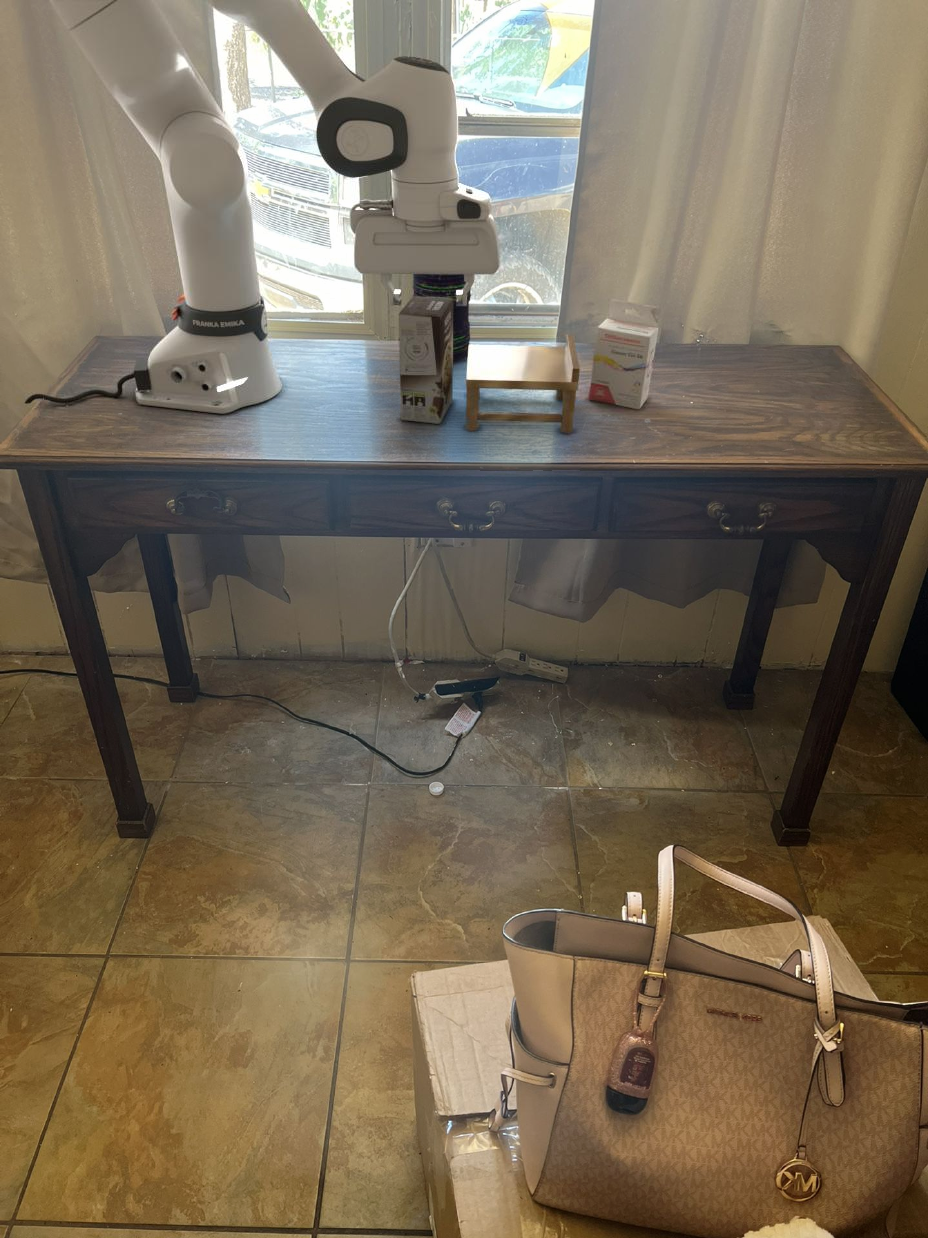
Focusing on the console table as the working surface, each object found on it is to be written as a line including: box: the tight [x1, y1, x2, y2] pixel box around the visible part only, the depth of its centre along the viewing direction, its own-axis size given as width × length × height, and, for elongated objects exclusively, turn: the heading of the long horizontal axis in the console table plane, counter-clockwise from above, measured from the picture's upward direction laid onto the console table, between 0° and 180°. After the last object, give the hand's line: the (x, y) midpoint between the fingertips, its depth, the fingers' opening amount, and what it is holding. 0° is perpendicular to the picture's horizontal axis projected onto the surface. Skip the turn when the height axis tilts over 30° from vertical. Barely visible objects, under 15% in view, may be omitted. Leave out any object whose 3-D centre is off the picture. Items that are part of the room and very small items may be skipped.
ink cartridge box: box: [588, 298, 661, 410], centre depth 137 cm, size 9×5×15 cm, turn 65°
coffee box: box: [398, 295, 454, 425], centre depth 132 cm, size 9×6×16 cm
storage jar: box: [412, 274, 472, 364], centre depth 151 cm, size 10×10×15 cm
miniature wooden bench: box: [465, 333, 581, 434], centre depth 133 cm, size 16×14×10 cm
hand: (428, 304), depth 127 cm, fingers open, 8 cm apart
